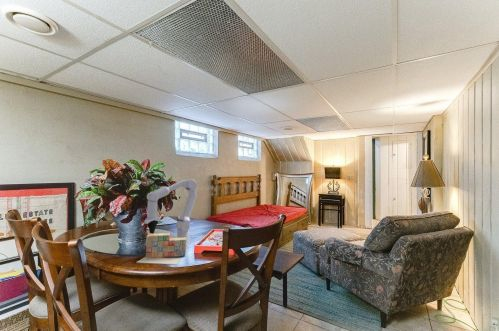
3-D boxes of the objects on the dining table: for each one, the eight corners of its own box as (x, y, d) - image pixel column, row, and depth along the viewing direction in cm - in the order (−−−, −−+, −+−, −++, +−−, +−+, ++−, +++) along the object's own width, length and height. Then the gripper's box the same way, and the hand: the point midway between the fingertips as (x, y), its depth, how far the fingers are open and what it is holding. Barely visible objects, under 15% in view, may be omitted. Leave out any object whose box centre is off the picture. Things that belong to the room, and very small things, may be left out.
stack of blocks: (186, 253, 139) (186, 232, 140) (185, 256, 133) (185, 234, 134) (147, 255, 135) (148, 233, 136) (145, 258, 129) (146, 235, 130)
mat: (144, 257, 131) (144, 256, 131) (182, 259, 129) (182, 258, 129) (136, 262, 123) (136, 262, 124) (175, 264, 121) (175, 264, 121)
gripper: (152, 209, 153) (152, 230, 152) (139, 212, 138) (139, 236, 138) (162, 209, 152) (162, 230, 151) (150, 213, 138) (150, 236, 137)
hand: (152, 233), depth 145 cm, fingers closed
